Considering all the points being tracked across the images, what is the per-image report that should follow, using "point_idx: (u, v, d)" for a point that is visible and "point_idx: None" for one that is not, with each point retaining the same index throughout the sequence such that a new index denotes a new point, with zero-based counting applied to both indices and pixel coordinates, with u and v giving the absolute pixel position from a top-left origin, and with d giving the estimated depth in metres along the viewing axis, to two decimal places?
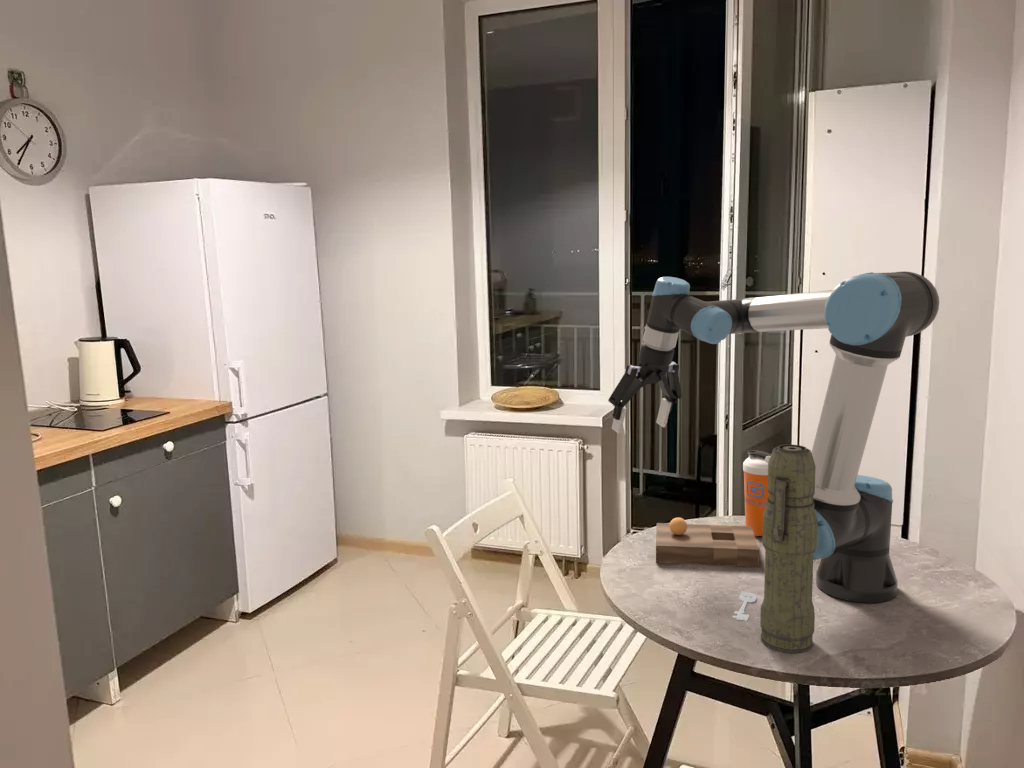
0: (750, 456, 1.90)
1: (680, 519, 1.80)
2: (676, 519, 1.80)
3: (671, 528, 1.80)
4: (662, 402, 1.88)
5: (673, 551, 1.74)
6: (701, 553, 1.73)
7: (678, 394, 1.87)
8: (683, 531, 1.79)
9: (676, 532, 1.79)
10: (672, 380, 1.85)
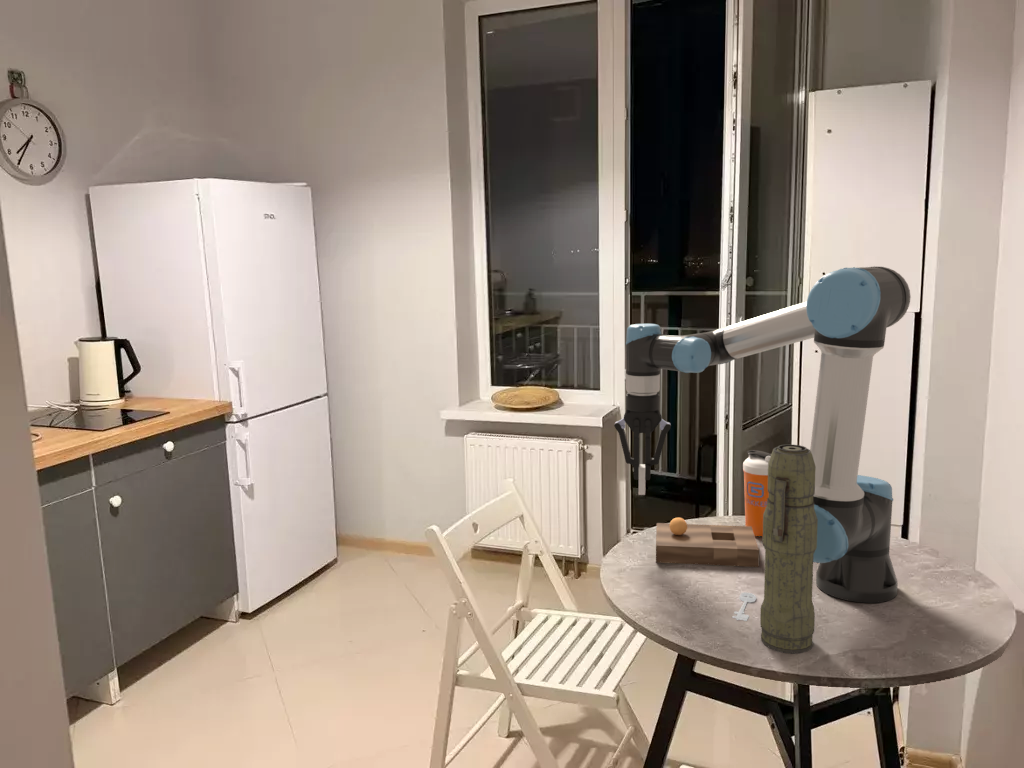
0: (750, 456, 1.90)
1: (680, 519, 1.80)
2: (676, 519, 1.80)
3: (671, 528, 1.80)
4: None
5: (673, 551, 1.74)
6: (701, 553, 1.73)
7: (655, 458, 1.78)
8: (683, 531, 1.79)
9: (676, 532, 1.79)
10: (658, 440, 1.78)
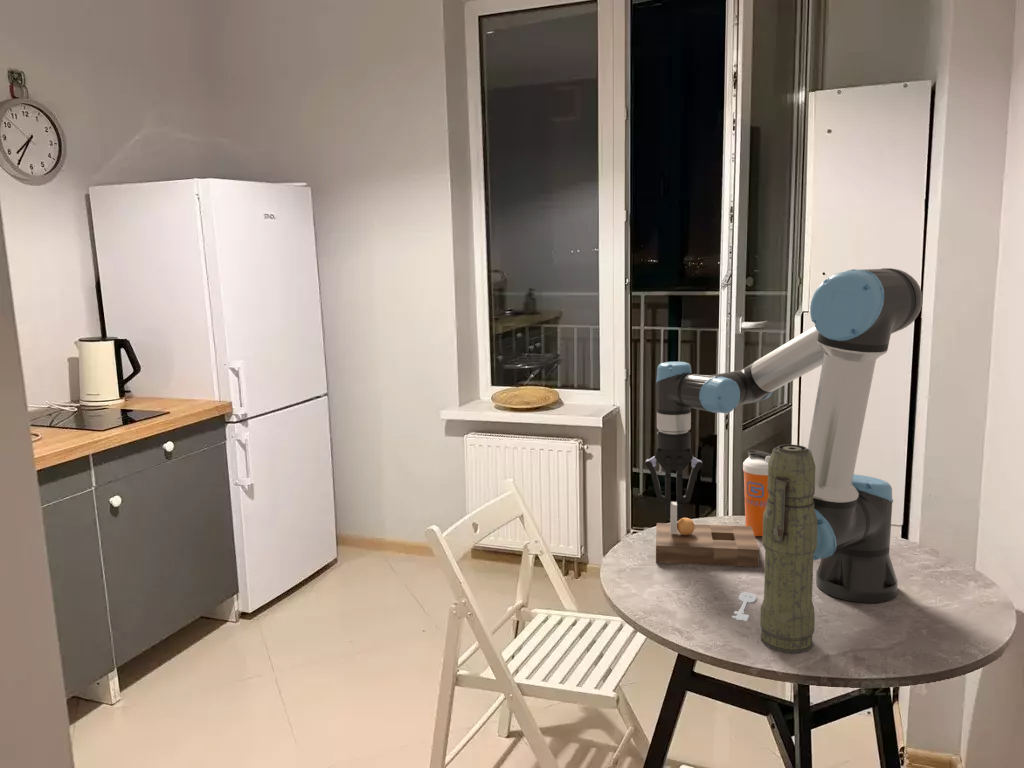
0: (750, 456, 1.90)
1: (693, 523, 1.79)
2: (690, 520, 1.79)
3: (680, 523, 1.79)
4: None
5: (673, 551, 1.74)
6: (701, 553, 1.73)
7: (687, 496, 1.78)
8: (687, 534, 1.79)
9: (681, 530, 1.79)
10: (690, 478, 1.78)
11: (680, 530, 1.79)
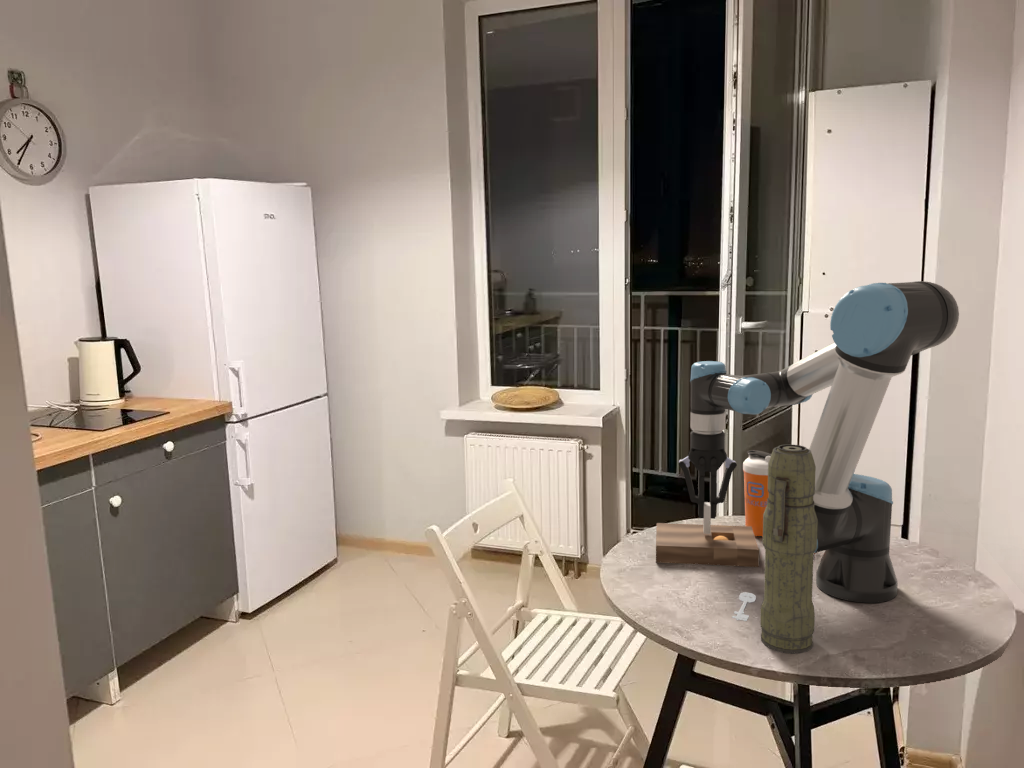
0: (750, 456, 1.90)
1: (716, 538, 1.79)
2: None
3: None
4: None
5: (673, 551, 1.74)
6: (701, 553, 1.73)
7: (721, 496, 1.76)
8: None
9: None
10: (723, 478, 1.76)
11: None
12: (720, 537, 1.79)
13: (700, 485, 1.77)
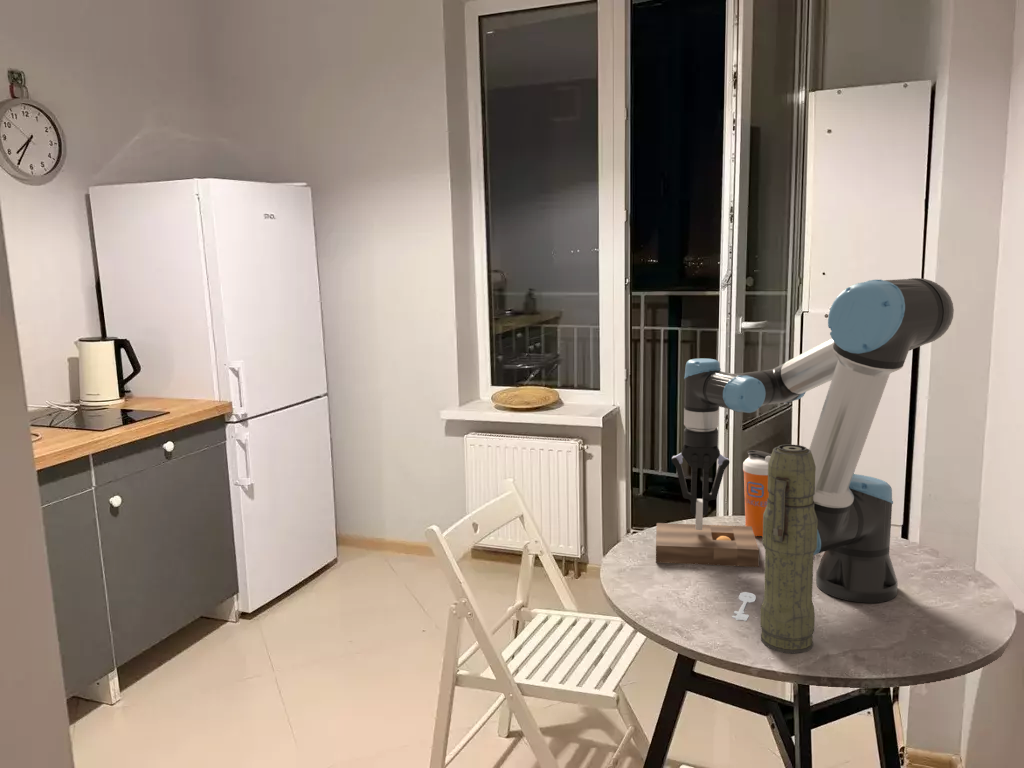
0: (750, 456, 1.90)
1: (720, 538, 1.79)
2: (717, 539, 1.79)
3: None
4: None
5: (673, 551, 1.74)
6: (701, 553, 1.73)
7: (713, 493, 1.77)
8: None
9: None
10: (716, 475, 1.77)
11: None
12: (725, 537, 1.78)
13: (693, 482, 1.77)
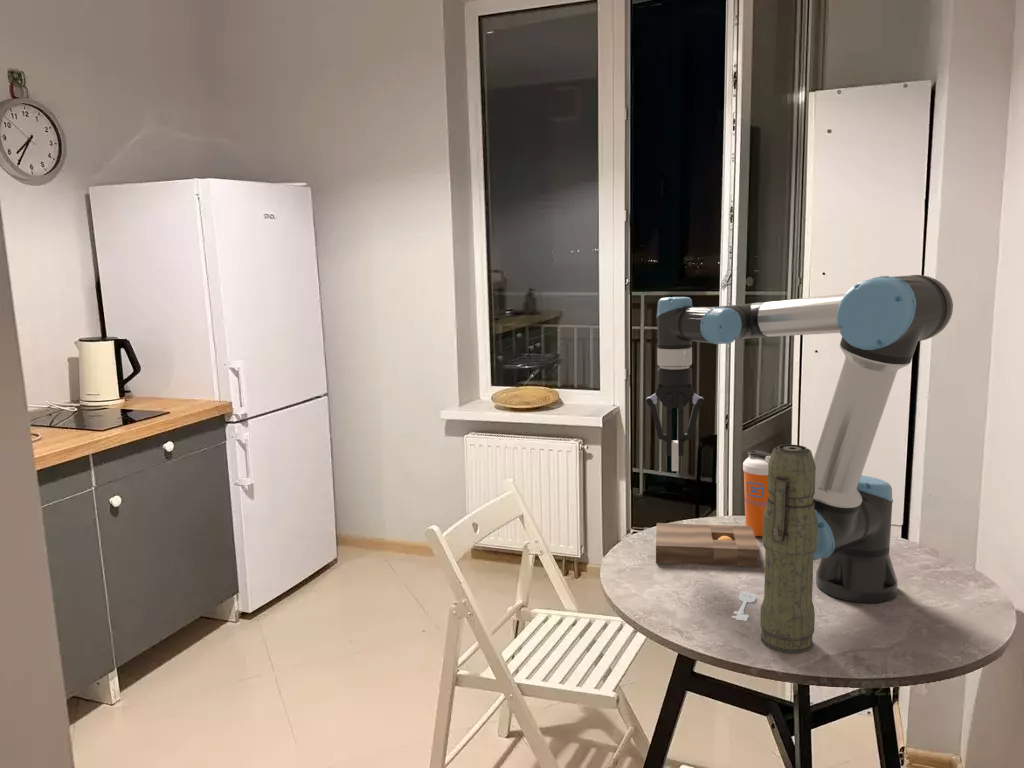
0: (750, 456, 1.90)
1: (723, 537, 1.78)
2: (720, 539, 1.78)
3: None
4: None
5: (673, 551, 1.74)
6: (701, 553, 1.73)
7: (688, 433, 1.75)
8: None
9: None
10: (691, 415, 1.75)
11: None
12: (728, 538, 1.78)
13: (667, 422, 1.76)
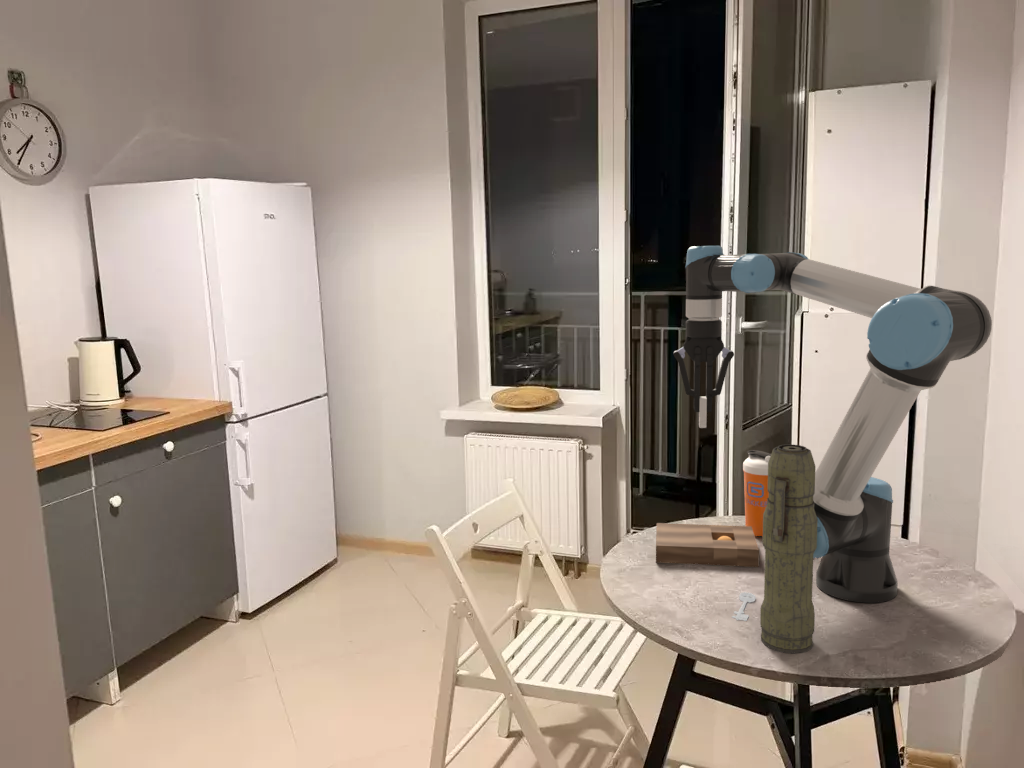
0: (750, 456, 1.90)
1: (723, 537, 1.78)
2: (720, 539, 1.79)
3: None
4: None
5: (673, 551, 1.74)
6: (701, 553, 1.73)
7: (717, 388, 1.69)
8: None
9: None
10: (720, 369, 1.69)
11: None
12: (728, 538, 1.78)
13: (696, 376, 1.69)
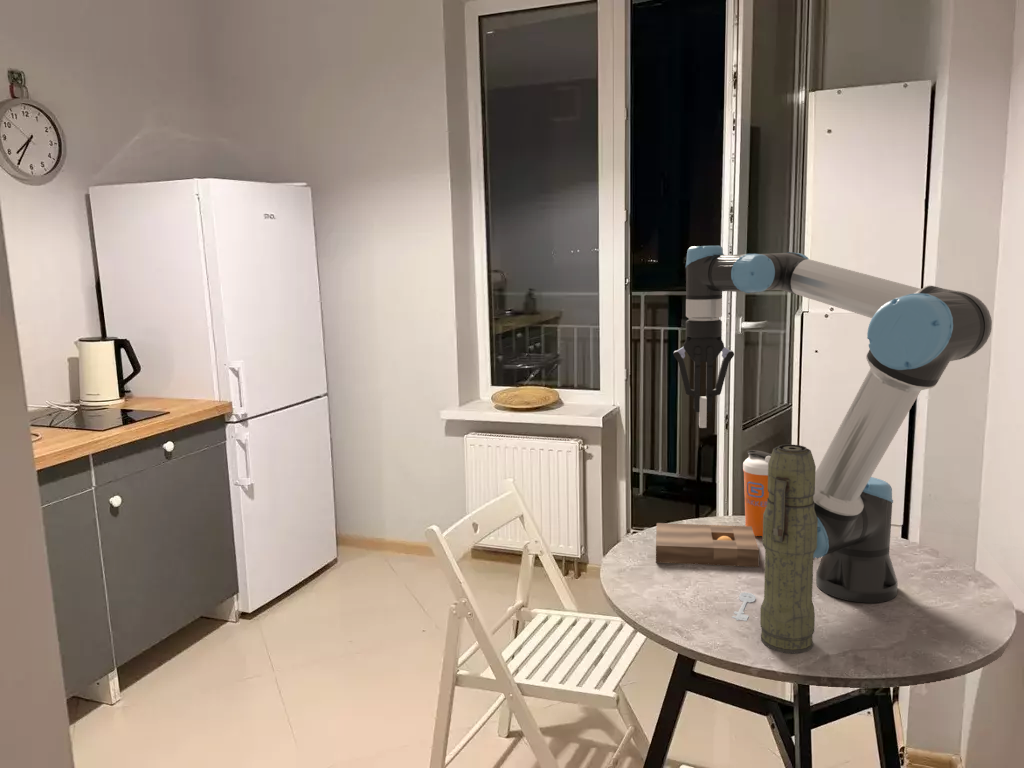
0: (750, 456, 1.90)
1: (723, 537, 1.78)
2: (719, 539, 1.79)
3: None
4: None
5: (673, 551, 1.74)
6: (701, 553, 1.73)
7: (717, 388, 1.69)
8: None
9: None
10: (720, 369, 1.69)
11: None
12: (727, 538, 1.78)
13: (696, 376, 1.69)
